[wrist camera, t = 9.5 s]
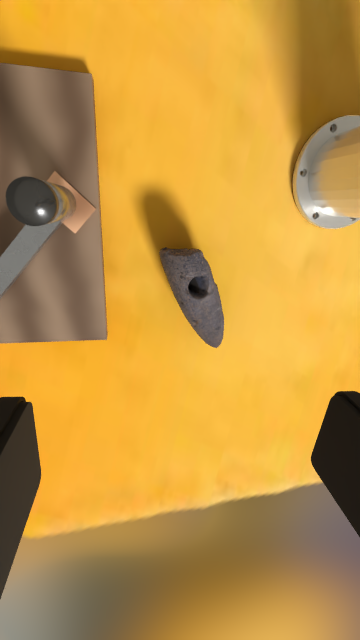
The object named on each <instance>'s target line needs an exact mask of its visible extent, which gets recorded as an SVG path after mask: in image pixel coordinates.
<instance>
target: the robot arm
mask: <svg viewBox="0 0 360 640" xmlns="http://www.w3.org/2000/svg"><path fill="white" fill-rule="evenodd" d="M300 172H301V175H300ZM293 195H294V199H295V202H296V206H297V207H298V209H299V211H300V213H301V214H302V215H303V217H304V218H305V219H306V220H307V221H309V222H310V223H311V224H313V225H315V226H318V227H321V228H327V229H338V228H343V227H346V226H349V225H351V224H353V223H355V222H357V221H358V220H360V116H359V115H347V116H343V117H339V118H336V119H334V120H332V121H329V122H328V123H326V124H324V125H323V126H321V127H320V128H319V129H318V130H317V131H316V132H314V133H313V134H312V135H311V137H310V138H309V139H308V141H307V142H306V143H305V145H304V146H303V148H302V150H301V152H300V154H299V156H298V159H297V162H296V164H295V169H294V174H293ZM311 462H312V465H313V467H314V469H315V471H316V472H317V474H318V475H319V477H320V478H321V480H322V481H323V483H324V484H325V486H326V487H327V489H328V490H329V492H330V493H331V495H332V496H333V498H334V499H335V501H336V502H337V504H338V505H339V507H340V508H341V510H342V511H343V513H344V514H345V516H346V517H347V519H348V520H349V522H350V523H351V525H352V526H353V528H354V529H355V531H356V532H357V534H358V535H359V537H360V393H358V392H355V391H340V392H337V393H336V394H335V395H334V396H333V397H332V398H331V399H330V402H329V405H328V408H327V411H326V414H325V417H324V420H323V423H322V426H321V429H320V431H319V434H318V437H317V440H316V443H315V446H314V449H313V452H312V455H311ZM40 479H41V467H40V460H39V452H38V444H37V437H36V429H35V422H34V414H33V406H32V403H31V402H26V401H25V398H24V397H1V398H0V599H1V595H2V593H3V590H4V587H5V584H6V581H7V578H8V575H9V572H10V569H11V566H12V563H13V560H14V557H15V554H16V552H17V549H18V546H19V543H20V540H21V537H22V534H23V531H24V528H25V525H26V522H27V519H28V516H29V513H30V510H31V508H32V505H33V502H34V499H35V496H36V493H37V490H38V487H39V484H40Z"/></svg>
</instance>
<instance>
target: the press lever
mask: <svg viewBox="0 0 360 640" xmlns="http://www.w3.org/2000/svg"><path fill="white" fill-rule="evenodd" d="M6 204H7V207H8V209H9V211H10V212H11V214H12V215H13V216H14V217H15V218H16V219H17V220H18V221H20V222H21V223H23V224H26V225H25V226H24V227H23V229H22V230H21V231H20V233H19V234H18V235H17V236H16V238H15V239H14V240H13V241H12V243H11V244H10V245H9V246H8V248H7V249H6V250H5V252H4V253H3V254H2V255H1V257H0V299H1V298H2V297H3V295H4V294H5V293H6V292H7V290H8V289H9V288H10V287H11V285H12V284H13V283H14V282H15V281H16V279H17V278H18V277H19V276H20V274H21V273H22V272H23V271H24V270H25V268H26V267H27V266H28V265H29V263H30V262H31V261H32V260H33V258H34V257H35V256H36V255H37V254H38V252H39V251H40V250H41V249H42V247H43V246H44V245H45V244H46V242H47V241H48V240H49V239H50V238H51V236H52V235H53V234H54V233H55V231H56V230H57V229H58V228H59V226H60V225H61V224H62V223H63V222H64V220H66V219H68V218H70V217H71V216H72V215H73V214H74V213H75V210H76V199H75V197H74V195H73V193H72V192H71V191H70V190H69V189H67V188H66V187H64V186H61V185H58V184H54V183H51V182H47V181H44V180H40V179H37V178H33V177H27V176H25V177H19V178H17V179H15V180H13V181H12V182H11V183H10V184H9V186H8V188H7V190H6Z"/></svg>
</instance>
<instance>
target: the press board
mask: <svg viewBox="0 0 360 640" xmlns="http://www.w3.org/2000/svg"><path fill="white" fill-rule="evenodd" d="M25 176H27V177H33V178H37V179H40V180H44V181H47V182H51V183H54V184H58V185H61V186H64V187H66V188H67V189H69V190H70V191H71V192H72V193H73V195H74V197H75V199H76V210H75V213H74V214H73V215H72V216H71V217H70V218H68V219H66V220H64V222H63V223H62V224H61V225H60V226H59V228H58V229H57V230H56V231H55V233H54V234H53V235H52V236H51V238H50V239H49V240H48V241H47V242H46V244H45V245H44V246H43V247H42V249H41V250H40V251H39V252H38V254H37V255H36V256H35V257H34V258H33V260H32V261H31V262H30V263H29V265H28V266H27V267H26V268H25V270H24V271H23V272H22V273H21V274H20V276H19V277H18V278H17V279H16V281H15V282H14V283H13V284H12V285H11V287H10V288H9V289H8V290H7V292H6V293H5V294H4V295H3V297H2V298H1V299H0V343H24V342H52V341H81V340H107V318H106V300H105V282H104V264H103V246H102V228H101V210H100V193H99V175H98V157H97V139H96V121H95V103H94V85H93V78H92V74H89V73H81V72H72V71H64V70H56V69H48V68H39V67H31V66H23V65H14V64H6V63H0V257H1V255H2V254H3V253H4V252H5V250H6V249H7V248H8V246H9V245H10V244H11V243H12V241H13V240H14V239H15V238H16V236H17V235H18V234H19V233H20V231H21V230H22V229H23V227H24V226H25V225H26V224H23V223H21V222H20V221H18V220H17V219H16V218H15V217H14V216H13V215H12V214H11V212H10V211H9V209H8V207H7V204H6V190H7V188H8V186H9V184H10V183H11V182H12V181H13V180H15V179H17V178H19V177H25Z"/></svg>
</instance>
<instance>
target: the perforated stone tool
mask: <svg viewBox="0 0 360 640" xmlns="http://www.w3.org/2000/svg"><path fill="white" fill-rule="evenodd" d="M159 254H160V259H161V262H162V265H163V268H164V271H165V273H166V275H167V279H168V282H169V284H170V287H171V289H172V291H173V293H174V296H175V298H176V300H177V302H178V304H179V306H180V308H181V310H182V312H183V313H184V315H185V317H186V318H187V320H188V321H189V323H190V324H191V326H192V327H193V329H194V330H195V331H196V332H197V334H198V335H199V336H200V337H201V338H202V339H203V341H205V343H207V344H208V345H210V346H212V347H215V348H217V347H218V346H219V345H220V344H221V342H222V339H223V331H224V316H223V312H222V306H221V300H220V296H219V292H218V288H217V285H216V284H215V282H214V279H213V276H212V272H211V269H210V266H209V264H208V262H207V260H206V259H205V258H204V257H203V253H202V251H201V250H199V249H189V250H188V249H169V248H167V247H165V248H163V249H161V250H160V252H159Z"/></svg>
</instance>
